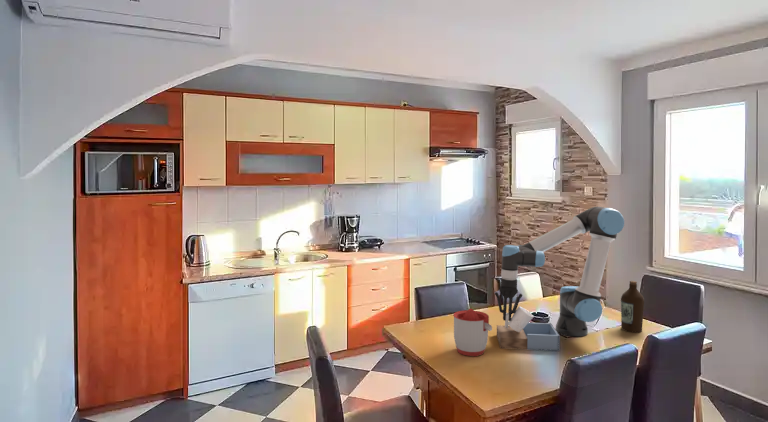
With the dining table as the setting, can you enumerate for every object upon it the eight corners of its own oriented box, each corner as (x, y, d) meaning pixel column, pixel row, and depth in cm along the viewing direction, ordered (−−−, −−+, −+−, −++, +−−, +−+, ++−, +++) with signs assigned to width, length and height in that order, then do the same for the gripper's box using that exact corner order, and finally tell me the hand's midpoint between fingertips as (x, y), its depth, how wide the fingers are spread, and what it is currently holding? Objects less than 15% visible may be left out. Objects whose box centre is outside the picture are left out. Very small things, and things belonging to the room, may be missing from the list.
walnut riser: (521, 336, 233) (521, 326, 233) (527, 349, 215) (527, 338, 215) (496, 335, 235) (496, 325, 234) (500, 348, 217) (500, 337, 217)
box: (551, 337, 231) (551, 323, 231) (559, 351, 213) (559, 335, 213) (521, 336, 233) (521, 322, 233) (527, 349, 215) (527, 334, 215)
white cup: (521, 335, 220) (534, 318, 219) (507, 325, 221) (519, 308, 219) (520, 330, 228) (532, 313, 226) (506, 320, 229) (518, 304, 227)
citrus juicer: (485, 362, 201) (485, 316, 200) (447, 354, 211) (447, 310, 209) (497, 350, 215) (497, 307, 213) (461, 343, 224) (461, 302, 222)
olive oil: (630, 325, 249) (631, 278, 247) (648, 331, 239) (650, 282, 237) (615, 327, 245) (616, 280, 243) (633, 334, 235) (634, 284, 233)
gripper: (522, 277, 226) (519, 325, 228) (494, 275, 228) (492, 323, 229) (524, 280, 218) (521, 330, 220) (495, 279, 220) (493, 328, 222)
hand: (506, 327), depth 225 cm, fingers closed
